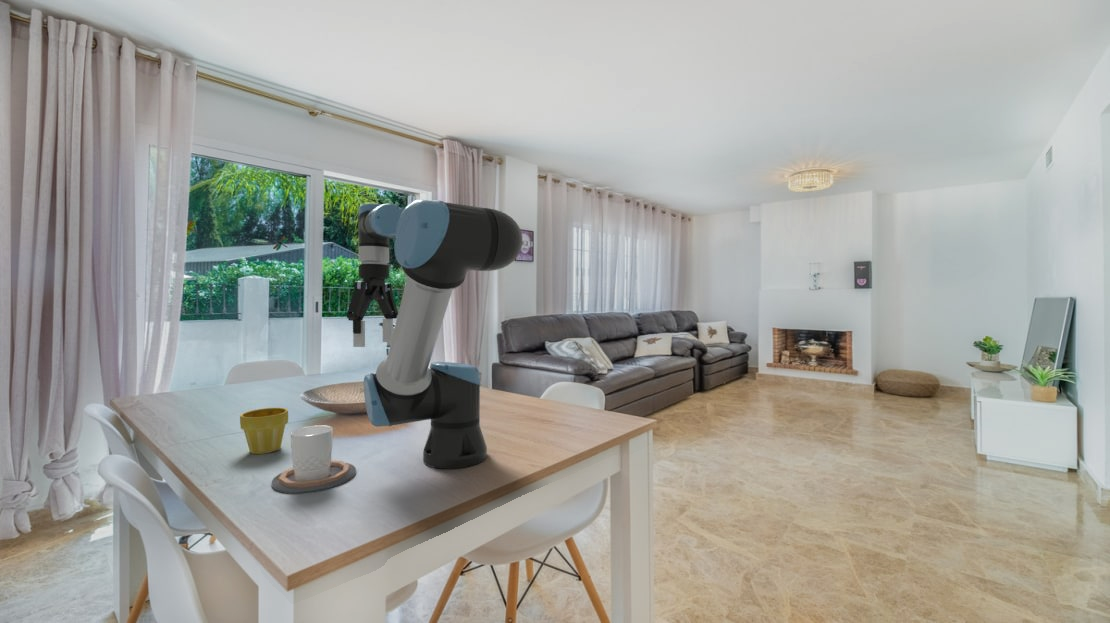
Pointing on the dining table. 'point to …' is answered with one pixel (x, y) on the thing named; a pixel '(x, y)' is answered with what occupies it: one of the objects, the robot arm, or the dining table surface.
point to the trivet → (337, 476)
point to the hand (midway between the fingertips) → (374, 344)
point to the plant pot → (264, 429)
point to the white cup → (311, 452)
